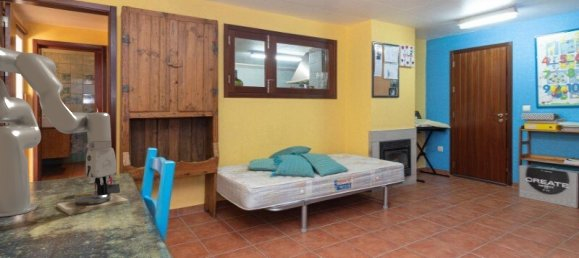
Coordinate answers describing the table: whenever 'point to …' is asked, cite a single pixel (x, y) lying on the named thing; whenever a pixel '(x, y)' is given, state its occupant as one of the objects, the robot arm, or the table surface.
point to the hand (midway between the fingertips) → (102, 194)
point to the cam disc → (96, 196)
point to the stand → (75, 209)
